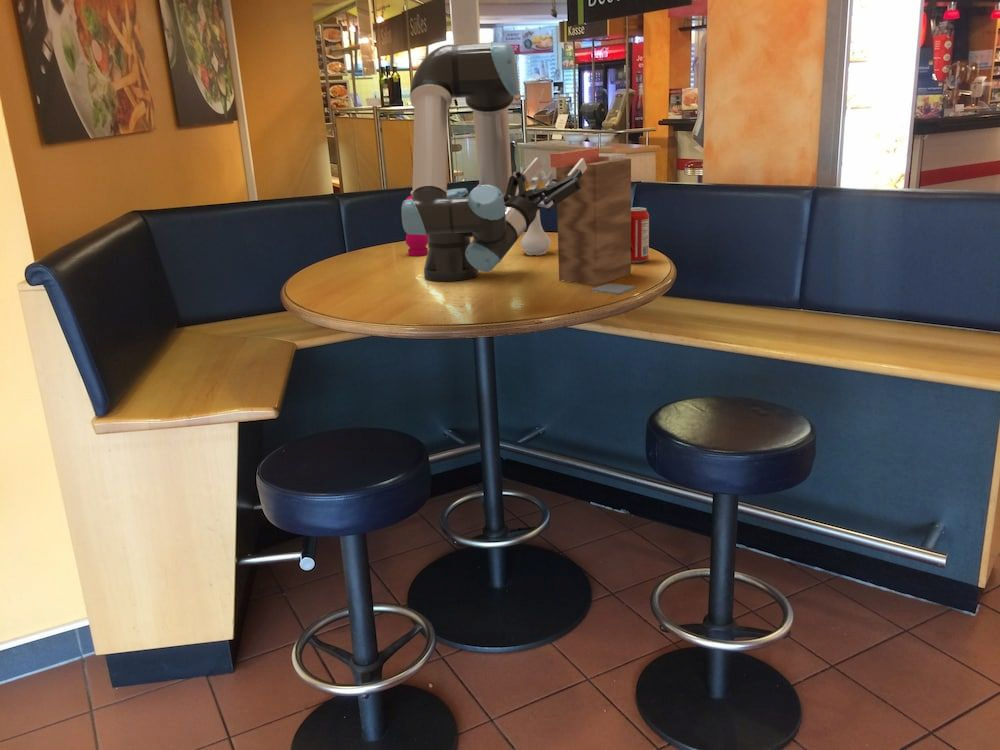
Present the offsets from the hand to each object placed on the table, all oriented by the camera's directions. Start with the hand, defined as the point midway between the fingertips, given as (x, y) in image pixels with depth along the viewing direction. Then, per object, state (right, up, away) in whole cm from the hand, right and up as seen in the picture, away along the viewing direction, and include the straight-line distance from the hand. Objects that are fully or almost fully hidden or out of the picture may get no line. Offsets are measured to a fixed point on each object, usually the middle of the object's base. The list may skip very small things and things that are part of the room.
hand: (561, 162), depth 200 cm
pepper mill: (-41, -13, +65) cm, 78 cm away
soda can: (+24, -19, +37) cm, 48 cm away
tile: (+13, -30, +7) cm, 34 cm away
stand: (+11, -25, +21) cm, 34 cm away
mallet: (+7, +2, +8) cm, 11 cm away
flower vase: (-3, -14, +56) cm, 58 cm away
